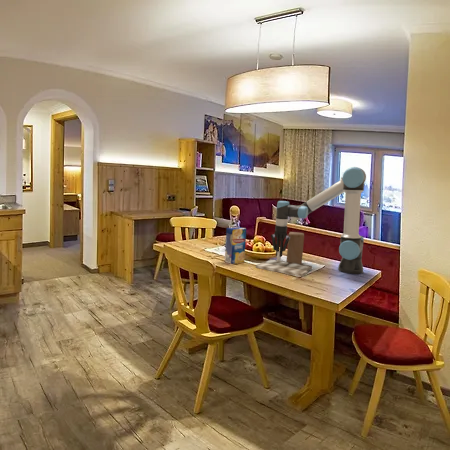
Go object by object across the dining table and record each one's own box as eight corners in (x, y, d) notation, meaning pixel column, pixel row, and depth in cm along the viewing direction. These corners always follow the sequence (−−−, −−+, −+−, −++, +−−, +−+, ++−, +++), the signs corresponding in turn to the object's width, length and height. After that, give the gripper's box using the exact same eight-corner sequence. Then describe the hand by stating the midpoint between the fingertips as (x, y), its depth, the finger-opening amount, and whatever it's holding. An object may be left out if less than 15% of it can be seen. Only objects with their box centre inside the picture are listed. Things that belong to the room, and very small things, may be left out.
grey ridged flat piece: (289, 264, 258) (289, 262, 258) (283, 268, 251) (283, 265, 250) (271, 261, 265) (271, 258, 264) (265, 264, 257) (265, 261, 257)
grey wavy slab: (311, 268, 250) (311, 266, 250) (306, 272, 243) (306, 269, 243) (292, 265, 257) (292, 262, 257) (286, 268, 250) (286, 265, 249)
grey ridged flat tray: (307, 273, 241) (307, 270, 241) (301, 276, 233) (301, 273, 233) (262, 264, 257) (262, 262, 256) (255, 267, 248) (255, 265, 248)
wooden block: (301, 265, 262) (304, 235, 259) (286, 263, 264) (288, 233, 261) (301, 261, 272) (304, 232, 269) (287, 260, 274) (289, 231, 271)
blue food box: (244, 262, 261) (246, 228, 258) (231, 263, 254) (233, 229, 251) (237, 259, 266) (239, 227, 263) (224, 261, 260) (226, 227, 257)
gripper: (293, 226, 256) (290, 262, 259) (274, 223, 262) (271, 258, 266) (288, 227, 249) (285, 264, 252) (269, 224, 256) (266, 260, 259)
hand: (278, 261), depth 259 cm, fingers closed
